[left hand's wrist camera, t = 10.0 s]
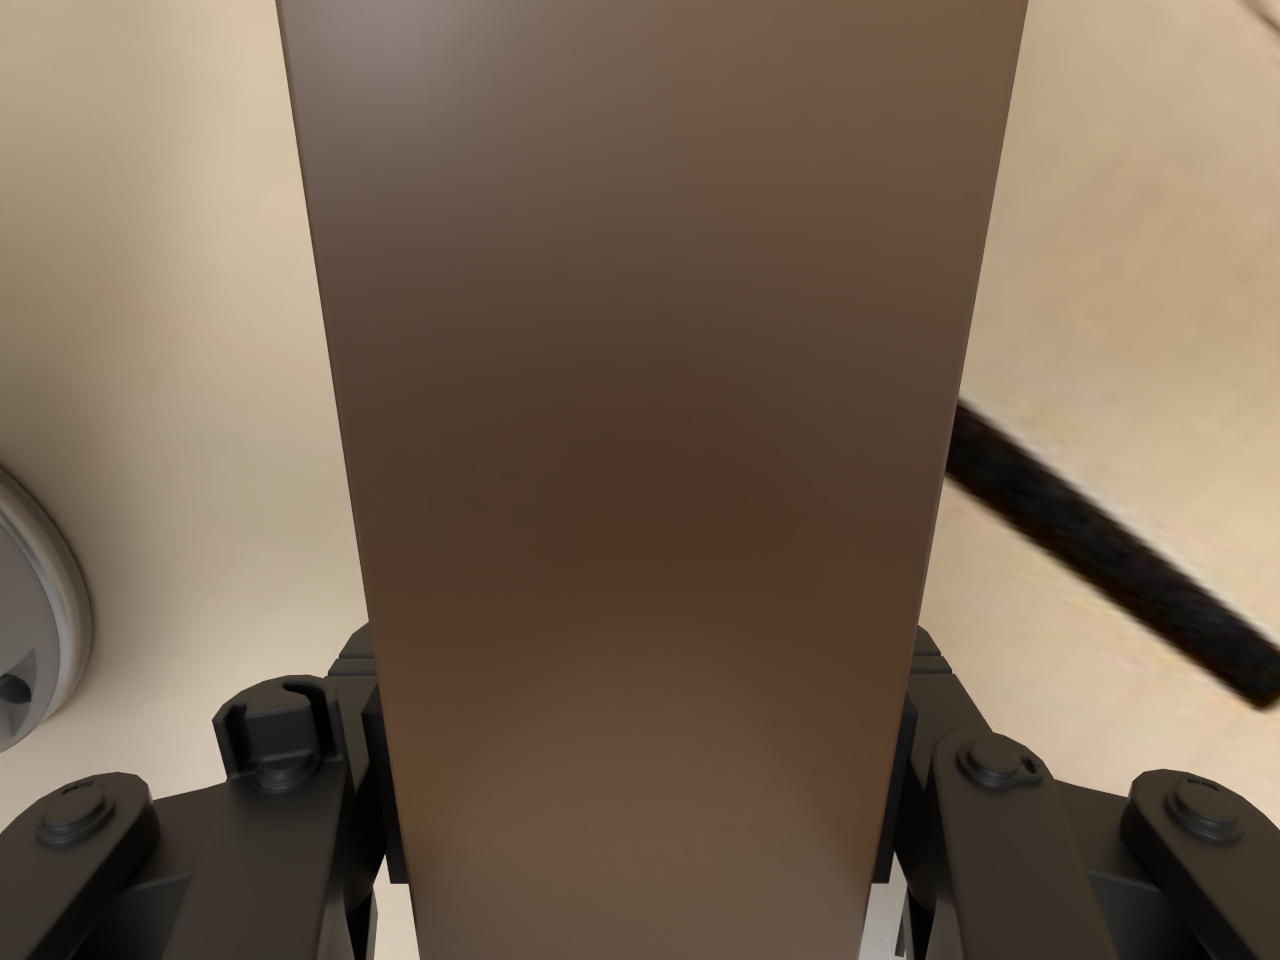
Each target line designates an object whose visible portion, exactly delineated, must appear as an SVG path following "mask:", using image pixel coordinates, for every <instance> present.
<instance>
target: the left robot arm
mask: <svg viewBox="0 0 1280 960" xmlns="http://www.w3.org/2000/svg"><path fill="white" fill-rule="evenodd" d="M91 640H92V620H91V611H90V605H89V599H88V595H87V592H86V588H85V585H84V581H83V579H82V576H81V574H80V571H79V569H78V566H77V564H76V562H75V560H74V558H73V556H72V554H71V552H70V550H69V548H68V546H67V545H66V543H65V541H64V540H63V538H62V537H61V535H60V533H59V532H58V530H57V529H56V527H55V526H54V525H53V523H52V522H51V521H50V519H49V518H48V517H47V515H46V514H45V513H44V511H43V510H42V509H41V508H40V507H39V506H38V504H37V503H36V502H35V501H34V500H33V499H32V497H31V496H30V495H29V494H28V493H27V492H26V491H25V490H24V489H23V488H22V487H21V486H20V485H19V484H18V483H17V482H16V481H15V480H14V479H13V478H11V477H10V476H9V475H8V474H7V473H6V472H5V471H3V470H2V469H1V468H0V753H1V752H3V751H5V750H7V749H9V748H10V747H12V746H13V745H15V744H17V743H18V742H20V741H21V740H22V739H23V738H25V737H26V736H27V735H28V734H29V733H31V732H32V731H33V730H34V729H35V728H36V727H37V726H39V725H40V724H41V723H42V722H43V721H44V720H46V719H47V718H48V717H49V716H50V715H51V714H52V713H54V712H55V711H56V710H57V709H58V708H59V707H60V706H61V705H62V704H63V703H64V702H65V701H66V700H67V699H68V698H69V697H70V695H71V694H72V692H73V691H74V690H75V688H76V687H77V685H78V683H79V681H80V679H81V678H82V676H83V674H84V671H85V668H86V665H87V662H88V659H89V654H90V649H91ZM212 722H213V726H214V730H215V734H216V737H217V741H218V745H219V749H220V752H221V756H222V760H223V763H224V767H225V771H226V775H227V780H226V782H224V783H221V784H218V785H214V786H211V787H208V788H204V789H200V790H195V791H191V792H187V793H182V794H178V795H174V796H169V797H165V798H161V799H156V800H152V797H151V793H150V790H149V787H148V784H147V783H146V782H144V781H143V780H142V779H141V778H140V777H138V776H137V775H134V774H127V773H121V772H113V773H106V774H99V775H92V776H89V777H87V778H84V779H81V780H78V781H75V782H72V783H69V784H66V785H64V786H62V787H60V788H59V789H57V790H55V791H53V792H51V793H50V794H48V795H46V796H44V797H42V798H40V799H39V800H37V801H36V802H35V803H34V804H32V805H31V806H30V807H29V808H27V809H26V810H25V811H24V812H23V813H21V814H20V815H19V816H18V817H16V818H15V819H14V820H13V821H12V822H11V823H10V824H9V825H8V827H7V828H6V829H5V830H4V831H3V832H2V833H1V834H0V960H374V952H375V940H376V929H377V917H378V912H377V905H376V899H375V893H374V888H373V884H374V881H375V879H376V876H377V874H378V871H379V868H380V866H381V863H382V861H383V858H384V855H386V860H387V866H388V872H389V878H390V883H391V884H409V883H408V877H407V870H406V864H405V857H404V850H403V844H402V837H401V830H400V824H399V817H398V810H397V804H396V797H395V791H394V784H393V777H392V771H391V764H390V757H389V751H388V744H387V738H386V731H385V724H384V718H383V711H382V704H381V698H380V691H379V685H378V678H377V671H376V665H375V658H374V651H373V645H372V638H371V631H370V625H369V622H368V623H367V624H365V625H364V626H363V627H361V628H360V629H359V630H357V631H356V632H354V633H353V634H352V636H351V637H350V639H349V640H348V642H347V643H346V645H345V646H344V648H343V649H342V651H341V652H340V654H339V659H336V660H335V662H334V663H333V665H332V666H331V668H330V669H329V671H328V676H325V677H324V678H320V677H316V676H312V675H287V676H282V677H278V678H274V679H270V680H266V681H263V682H261V683H258V684H256V685H254V686H252V687H249V688H247V689H245V690H243V691H241V692H240V693H238V694H237V695H235V696H234V697H233V698H231V699H230V700H229V701H227V702H226V703H225V704H223V705H222V707H221V708H220V709H219V711H218V712H217V714H216V715H215V716H214V718H213V719H212ZM894 852H895V853H896V856H897V859H898V861H899V864H900V866H901V869H902V872H903V874H904V877H905V879H906V882H907V888H906V893H905V899H904V904H903V909H902V915H901V920H900V925H899V931H898V936H897V942H896V948H895V954H894V956H899V957H903V958H904V953H905V950H906V960H1280V830H1279V829H1278V828H1277V827H1276V826H1275V825H1274V824H1273V823H1272V822H1271V821H1270V820H1269V819H1268V818H1267V817H1266V816H1265V815H1264V814H1263V813H1262V812H1261V811H1259V810H1258V809H1257V808H1256V807H1254V806H1253V805H1252V804H1251V803H1250V802H1248V801H1247V800H1246V799H1245V798H1243V797H1242V796H1240V795H1239V794H1237V793H1235V792H1233V791H1231V790H1229V789H1228V788H1226V787H1224V786H1222V785H1220V784H1218V783H1216V782H1214V781H1211V780H1209V779H1206V778H1203V777H1200V776H1197V775H1194V774H1191V773H1188V772H1182V771H1175V770H1167V769H1159V770H1153V771H1146V772H1143V773H1142V774H1141V775H1139V776H1138V777H1137V778H1136V779H1135V780H1133V782H1132V785H1131V788H1130V791H1129V794H1128V797H1123V796H1119V795H1115V794H1110V793H1106V792H1101V791H1097V790H1093V789H1088V788H1084V787H1080V786H1075V785H1072V784H1069V783H1065V782H1062V781H1059V780H1055V779H1053V776H1052V775H1051V773H1050V772H1049V770H1048V768H1047V767H1046V765H1045V764H1044V762H1043V761H1042V760H1041V759H1040V758H1039V757H1038V756H1036V755H1035V754H1034V753H1033V752H1032V751H1030V750H1029V749H1028V748H1027V747H1026V746H1024V745H1022V744H1020V743H1018V742H1016V741H1014V740H1012V739H1010V738H1008V737H1006V736H1004V735H1001V734H998V733H994V732H993V731H992V730H991V728H990V727H989V725H988V724H987V722H986V721H985V719H984V718H983V716H982V715H981V713H980V712H979V710H978V708H977V707H976V705H975V704H974V702H973V701H972V699H971V698H970V696H969V695H968V693H967V692H966V690H965V689H964V687H963V686H962V684H961V683H960V681H959V679H958V678H957V676H956V675H955V674H952V669H951V667H950V666H949V664H948V663H947V661H946V660H945V658H944V657H943V656H941V652H940V650H939V649H938V647H937V646H936V644H935V643H934V641H933V640H932V638H931V637H930V635H929V634H928V632H927V631H926V630H924V629H923V628H922V627H920V626H919V625H918V626H917V632H916V637H915V643H914V649H913V654H912V660H911V666H910V671H909V677H908V683H907V688H906V694H905V700H904V705H903V711H902V717H901V722H900V728H899V734H898V739H897V745H896V751H895V756H894V762H893V768H892V773H891V779H890V784H889V790H888V796H887V801H886V807H885V813H884V818H883V824H882V830H881V835H880V841H879V847H878V852H877V858H876V864H875V869H874V875H873V881H872V884H889V880H890V874H891V869H892V863H893V857H894Z"/></svg>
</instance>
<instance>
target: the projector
mask: <svg viewBox="0 0 1280 960" xmlns="http://www.w3.org/2000/svg"><path fill="white" fill-rule="evenodd" d="M906 888H907V882H906V879H905V877H904V874H903V872H902V869H901V866H900V864H899V861H898V859H897V856H896V853H895V852H894V857H893V863H892V869H891V874H890V880H889V884H872V886H871V892H870V898H869V903H868V909H867V915H866V920H865V926H864V932H863V937H862V943H861V948H860V954H859V960H906V950H905V953H904V958H903V957H899V956H894V954H895V948H896V942H897V936H898V931H899V925H900V920H901V915H902V909H903V904H904V899H905V893H906Z"/></svg>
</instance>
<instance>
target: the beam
mask: <svg viewBox="0 0 1280 960" xmlns="http://www.w3.org/2000/svg"><path fill="white" fill-rule="evenodd" d="M275 2H276V8H277V15H278V22H279V28H280V35H281V41H282V48H283V55H284V61H285V68H286V75H287V81H288V88H289V94H290V101H291V108H292V114H293V121H294V128H295V134H296V141H297V147H298V154H299V161H300V167H301V174H302V181H303V187H304V194H305V201H306V207H307V214H308V220H309V227H310V234H311V240H312V247H313V254H314V260H315V267H316V273H317V280H318V287H319V293H320V300H321V307H322V313H323V320H324V327H325V333H326V340H327V346H328V353H329V360H330V366H331V373H332V380H333V386H334V393H335V399H336V406H337V413H338V419H339V426H340V433H341V439H342V446H343V452H344V459H345V466H346V472H347V479H348V486H349V492H350V499H351V506H352V512H353V519H354V525H355V532H356V539H357V545H358V552H359V559H360V565H361V572H362V578H363V585H364V592H365V598H366V605H367V612H368V618H369V625H370V631H371V638H372V645H373V651H374V658H375V665H376V671H377V678H378V685H379V691H380V698H381V704H382V711H383V718H384V724H385V731H386V738H387V744H388V751H389V757H390V764H391V771H392V777H393V784H394V791H395V797H396V804H397V810H398V817H399V824H400V830H401V837H402V844H403V850H404V857H405V864H406V870H407V877H408V883H409V890H410V897H411V903H412V910H413V917H414V923H415V930H416V936H417V943H418V950H419V956H420V960H859V954H860V948H861V943H862V937H863V932H864V926H865V920H866V915H867V909H868V903H869V898H870V892H871V886H872V881H873V875H874V869H875V864H876V858H877V852H878V847H879V841H880V835H881V830H882V824H883V818H884V813H885V807H886V801H887V796H888V790H889V784H890V779H891V773H892V768H893V762H894V756H895V751H896V745H897V739H898V734H899V728H900V722H901V717H902V711H903V705H904V700H905V694H906V688H907V683H908V677H909V671H910V666H911V660H912V654H913V649H914V643H915V637H916V632H917V626H918V620H919V615H920V609H921V604H922V598H923V592H924V587H925V581H926V575H927V570H928V564H929V558H930V553H931V547H932V541H933V536H934V530H935V524H936V519H937V513H938V507H939V502H940V496H941V490H942V485H943V479H944V473H945V468H946V462H947V457H948V451H949V445H950V440H951V434H952V428H953V423H954V417H955V411H956V406H957V400H958V394H959V389H960V383H961V377H962V372H963V366H964V360H965V355H966V349H967V343H968V338H969V332H970V326H971V321H972V315H973V309H974V304H975V298H976V293H977V287H978V281H979V276H980V270H981V264H982V259H983V253H984V247H985V242H986V236H987V230H988V225H989V219H990V213H991V208H992V202H993V196H994V191H995V185H996V179H997V174H998V168H999V162H1000V157H1001V151H1002V145H1003V140H1004V134H1005V129H1006V123H1007V117H1008V112H1009V106H1010V100H1011V95H1012V89H1013V83H1014V78H1015V72H1016V66H1017V61H1018V55H1019V49H1020V44H1021V38H1022V32H1023V27H1024V21H1025V15H1026V10H1027V4H1028V0H275Z"/></svg>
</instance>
